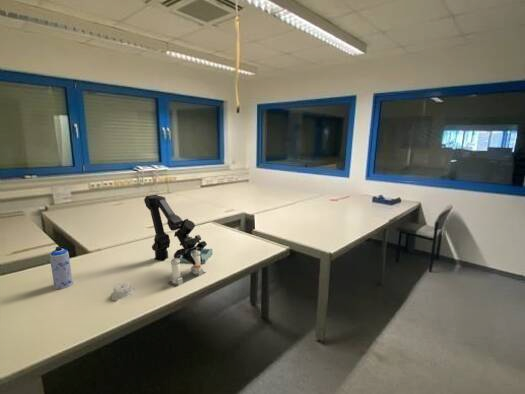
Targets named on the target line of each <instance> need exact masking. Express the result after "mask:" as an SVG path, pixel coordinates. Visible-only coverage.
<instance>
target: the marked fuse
mask: <svg viewBox="0 0 525 394" xmlns="http://www.w3.org/2000/svg"><path fill="white" fill-rule="evenodd" d="M192 256H193V259H194V261H195V263H196V264H195V265H194V264H192V266H193V274H194V275H198V270H199V269H201V267H202V265H201V264H202V263H200V251H193V252H192Z"/></svg>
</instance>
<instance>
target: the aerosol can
mask: <svg viewBox="0 0 525 394" xmlns="http://www.w3.org/2000/svg"><path fill="white" fill-rule="evenodd" d="M49 260H50V261H49V262H50V267H51V273H52V279H53V288H54V289H56V290H63V289H68V288H69V287H72V286H73V285H74V282H73V277H72V269H71V261H70V260H71V259H70V254H69V251H68V250H67V249H66V248H62V246H60V245H58V246H56V247H55V249H54V250H53V251H51V252H50V253H49Z"/></svg>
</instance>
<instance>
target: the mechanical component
mask: <svg viewBox="0 0 525 394" xmlns="http://www.w3.org/2000/svg"><path fill="white" fill-rule="evenodd" d="M134 293H135V289H134V288H133V287H132V284H131V283H128V282H127V283H126V282H125V283H124V282H123V283H121V284H118V285H116V286H114V287H113V292H111V294H110V295H111V296H110V299H111V300H112V301H115V302H117V301H118V300H124V299H127V298H129V297H131V296H132V295H134Z"/></svg>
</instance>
